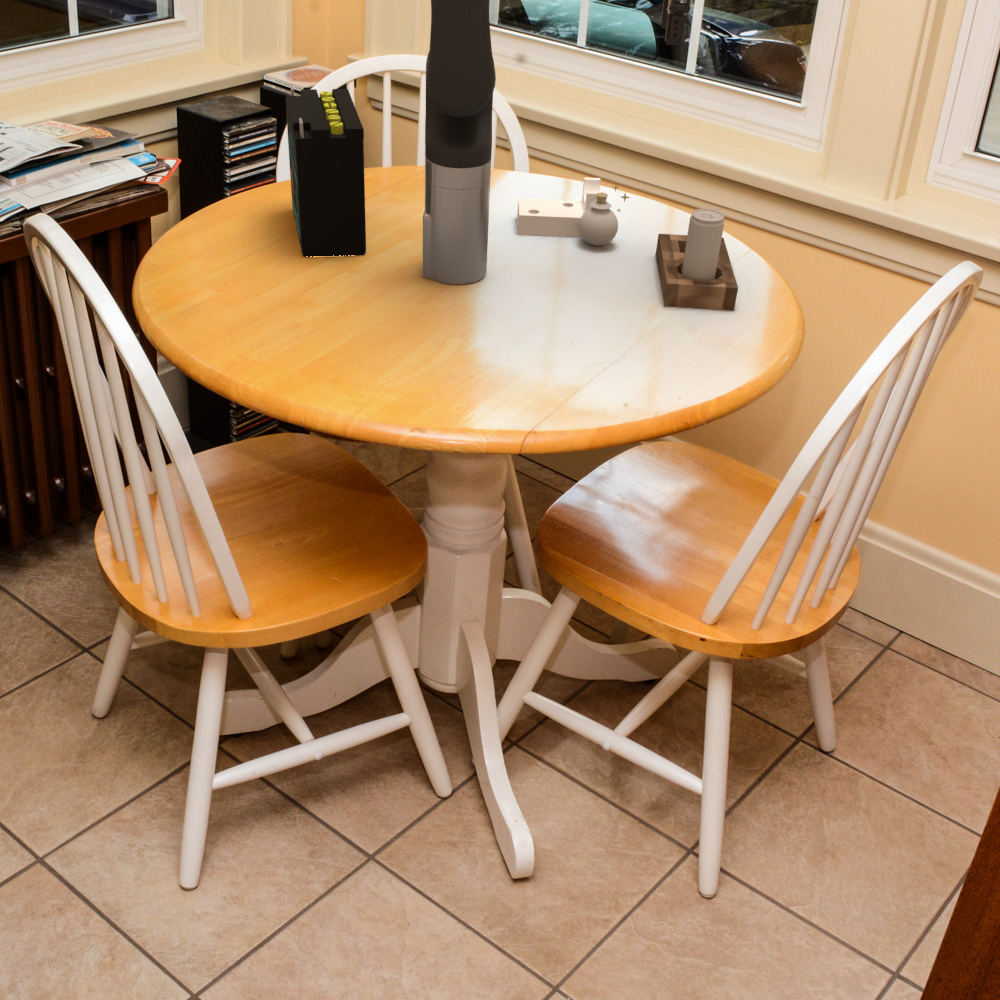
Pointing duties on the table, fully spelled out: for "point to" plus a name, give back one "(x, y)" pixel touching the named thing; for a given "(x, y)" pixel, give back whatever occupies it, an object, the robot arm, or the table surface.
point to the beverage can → (703, 244)
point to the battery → (327, 172)
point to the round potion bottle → (599, 221)
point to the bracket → (556, 213)
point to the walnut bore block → (688, 290)
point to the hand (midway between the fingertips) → (670, 36)
